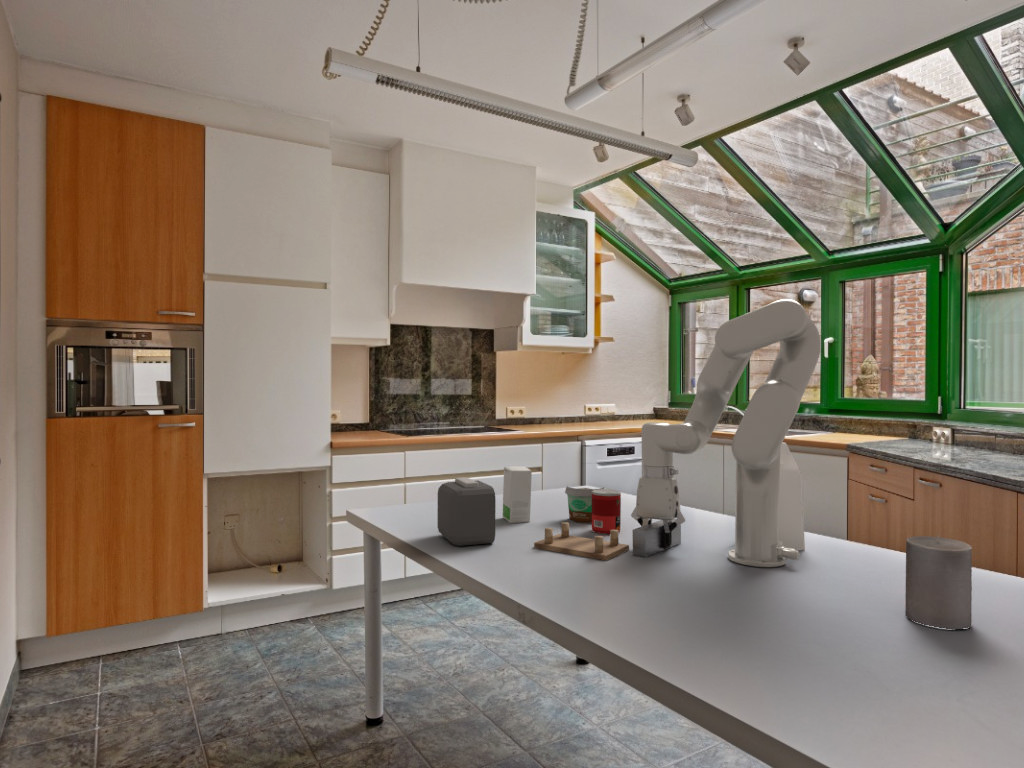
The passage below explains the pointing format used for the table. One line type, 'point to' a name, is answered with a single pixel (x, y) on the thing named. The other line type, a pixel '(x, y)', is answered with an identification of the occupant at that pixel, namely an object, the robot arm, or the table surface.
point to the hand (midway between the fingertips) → (657, 546)
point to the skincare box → (517, 494)
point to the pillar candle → (938, 582)
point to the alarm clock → (466, 512)
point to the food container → (580, 504)
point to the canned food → (606, 510)
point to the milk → (790, 502)
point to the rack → (582, 544)
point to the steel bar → (653, 538)
